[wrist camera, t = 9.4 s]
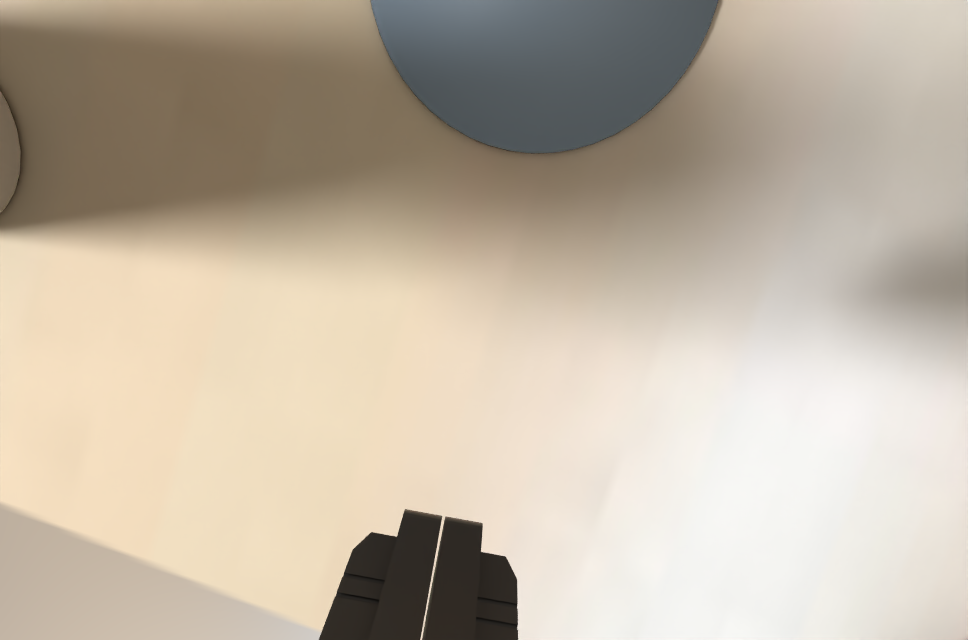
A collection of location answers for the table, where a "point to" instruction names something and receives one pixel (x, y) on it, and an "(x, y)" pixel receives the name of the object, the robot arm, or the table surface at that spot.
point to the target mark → (541, 63)
